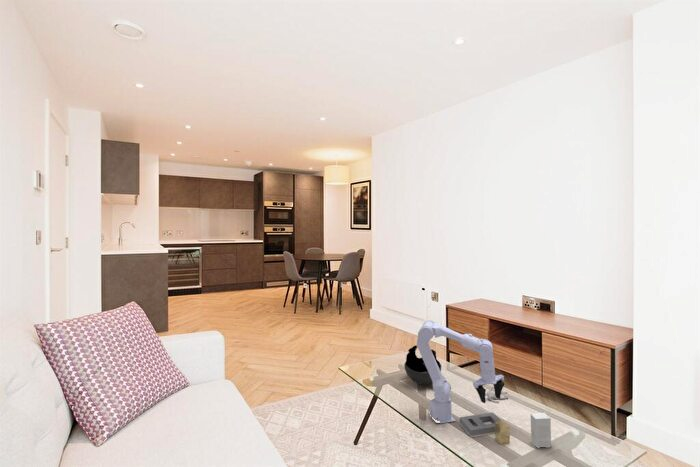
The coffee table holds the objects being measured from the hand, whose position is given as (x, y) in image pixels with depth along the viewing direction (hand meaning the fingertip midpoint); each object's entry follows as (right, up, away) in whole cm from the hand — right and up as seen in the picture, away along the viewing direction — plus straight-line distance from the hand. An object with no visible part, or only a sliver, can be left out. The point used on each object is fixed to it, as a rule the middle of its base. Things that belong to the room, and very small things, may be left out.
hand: (490, 399), depth 160 cm
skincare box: (+15, -12, -13) cm, 23 cm away
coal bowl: (-21, -10, +43) cm, 49 cm away
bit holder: (-4, -12, 0) cm, 12 cm away
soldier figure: (+11, -10, +23) cm, 28 cm away
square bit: (+1, -12, -10) cm, 16 cm away
